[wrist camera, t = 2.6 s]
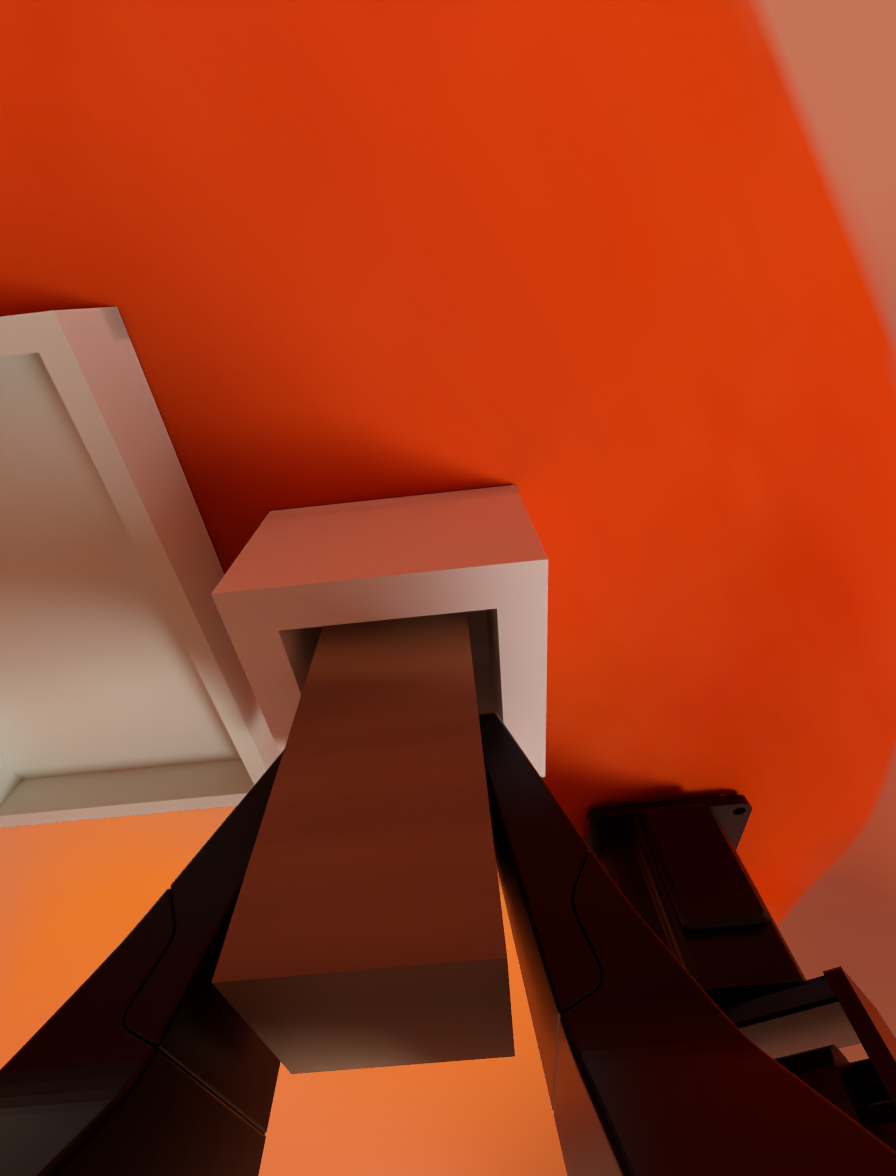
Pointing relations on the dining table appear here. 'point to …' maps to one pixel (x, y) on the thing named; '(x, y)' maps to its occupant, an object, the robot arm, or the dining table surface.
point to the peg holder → (396, 594)
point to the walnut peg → (376, 865)
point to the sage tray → (107, 594)
